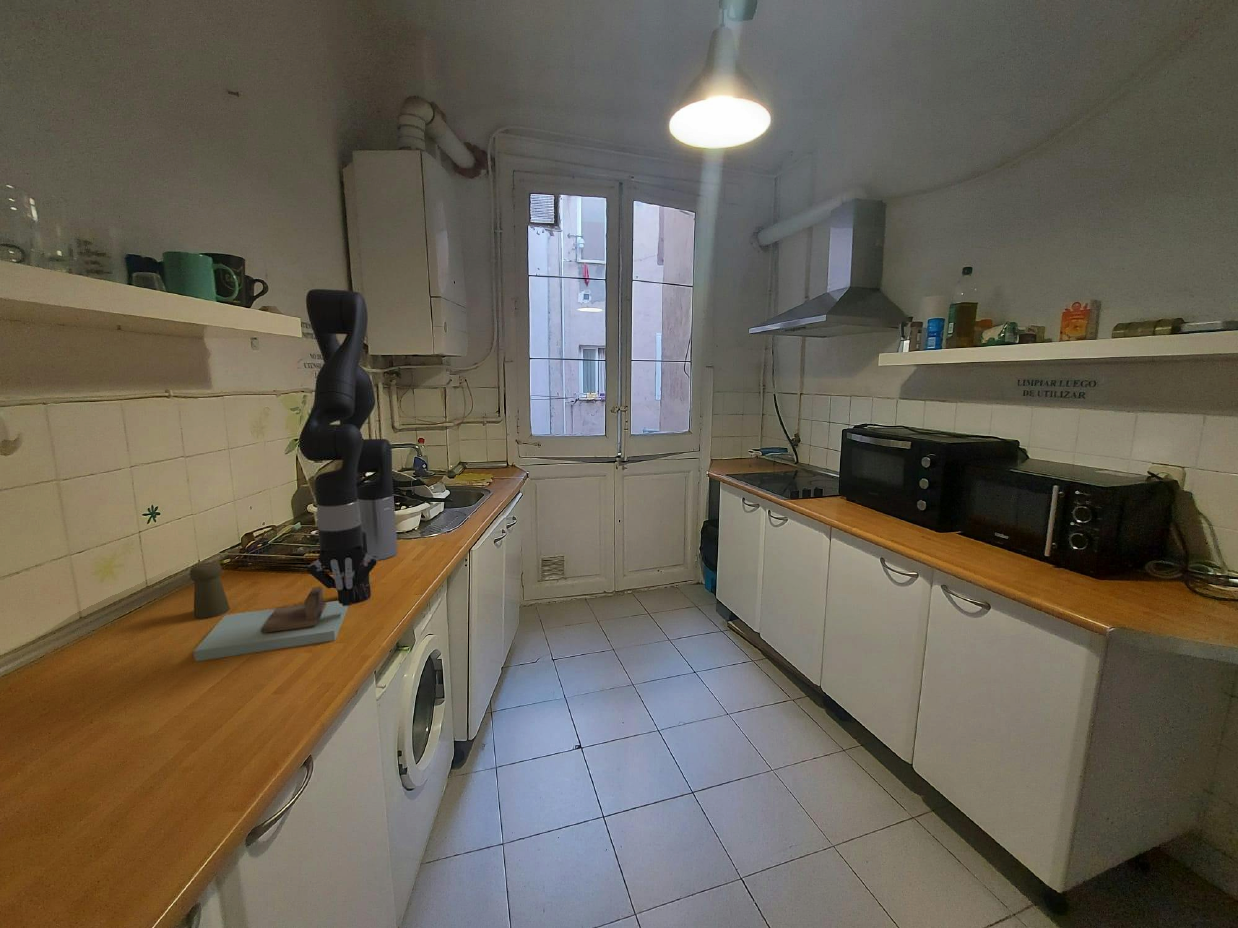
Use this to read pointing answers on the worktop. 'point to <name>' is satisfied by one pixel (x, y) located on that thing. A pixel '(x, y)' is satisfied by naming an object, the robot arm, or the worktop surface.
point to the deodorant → (364, 588)
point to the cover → (297, 614)
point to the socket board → (246, 636)
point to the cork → (208, 591)
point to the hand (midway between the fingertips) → (347, 604)
